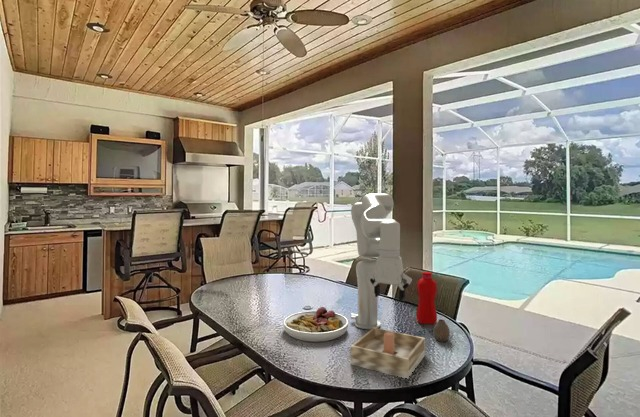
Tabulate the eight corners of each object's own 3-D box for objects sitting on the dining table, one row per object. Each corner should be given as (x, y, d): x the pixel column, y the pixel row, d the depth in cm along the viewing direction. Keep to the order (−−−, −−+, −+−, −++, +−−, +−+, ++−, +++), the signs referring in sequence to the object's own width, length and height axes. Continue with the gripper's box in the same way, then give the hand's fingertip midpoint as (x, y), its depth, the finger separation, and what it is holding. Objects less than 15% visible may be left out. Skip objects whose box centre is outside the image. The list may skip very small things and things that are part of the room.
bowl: (342, 347, 157) (342, 329, 157) (274, 341, 164) (274, 323, 163) (352, 322, 186) (352, 307, 186) (294, 318, 193) (294, 303, 192)
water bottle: (433, 317, 192) (434, 269, 191) (437, 325, 182) (438, 274, 180) (415, 317, 193) (415, 269, 192) (418, 324, 182) (419, 273, 181)
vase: (446, 336, 168) (446, 317, 167) (452, 343, 161) (452, 322, 160) (430, 336, 168) (431, 317, 167) (436, 343, 161) (436, 323, 160)
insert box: (350, 364, 141) (350, 346, 141) (373, 343, 160) (373, 327, 160) (407, 379, 130) (408, 359, 130) (425, 355, 149) (425, 337, 149)
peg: (382, 360, 144) (382, 334, 144) (385, 356, 148) (386, 331, 147) (392, 362, 142) (392, 337, 142) (395, 358, 146) (395, 333, 145)
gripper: (364, 253, 144) (364, 297, 145) (408, 257, 135) (408, 303, 136) (372, 250, 151) (372, 292, 152) (414, 254, 142) (414, 298, 143)
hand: (389, 297), depth 144 cm, fingers open, 9 cm apart
